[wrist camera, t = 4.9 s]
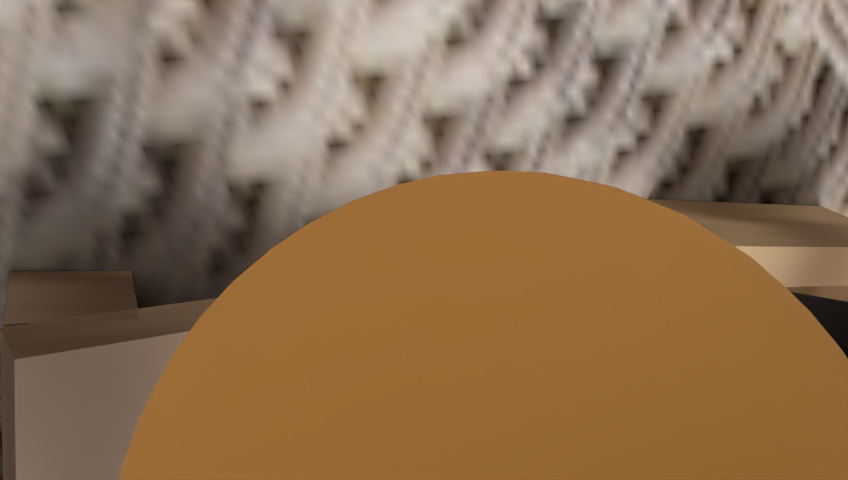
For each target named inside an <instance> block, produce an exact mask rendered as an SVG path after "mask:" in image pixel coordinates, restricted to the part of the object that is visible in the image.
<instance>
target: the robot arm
mask: <svg viewBox="0 0 848 480" xmlns="http://www.w3.org/2000/svg"><path fill="white" fill-rule="evenodd" d="M790 292H791V291H790ZM791 293H792V294H793V295H794V296H795V297H796V298H797V299H798V300H799V301H800V302H801V303H802V304H803V305H804V306H805V307H806V308H807V309H808V310H809V311H810V312H811V313H812V314H813V316H814V317H815V318H816V319H817V320H818V322H819V323H820V324H821V325H822V326H823V328H824V329H825V330H826V331H827V332H828V334H829V335H830V336H831V337H832V338H833V340H834V341H835V342H836V343H837V344H838V346H839V347H840V348H841V349H842V351H843V352H844V354H845V355H846V357H847V358H848V301H842V300H837V299H831V298H825V297H819V296H814V295H808V294H802V293H797V292H791Z"/></svg>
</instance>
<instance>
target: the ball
mask: <svg viewBox="0 0 848 480" xmlns="http://www.w3.org/2000/svg"><path fill="white" fill-rule="evenodd" d="M119 480H848V358H847V357H846V355H845V354H844V352H843V351H842V349H841V348H840V347H839V346H838V344H837V343H836V342H835V341H834V340H833V338H832V337H831V336H830V335H829V334H828V332H827V331H826V330H825V329H824V328H823V326H822V325H821V324H820V323H819V322H818V320H817V319H816V318H815V317H814V316H813V314H812V313H811V312H810V311H809V310H808V309H807V308H806V307H805V306H804V305H803V304H802V303H801V302H800V301H799V300H798V299H797V298H796V297H795V296H794V295H793V294H792V293H791V292H790V291H789V290H788V289H787V288H786V287H785V286H783V285H782V284H781V283H780V282H779V281H778V280H777V279H775V278H774V277H773V276H772V275H771V274H770V273H769V272H768V271H766V270H765V269H764V268H763V267H762V266H761V265H760V264H758V263H757V262H756V261H755V260H754V259H753V258H752V257H750V256H749V255H747V254H746V253H744V252H742V251H741V250H739V249H738V248H736V247H735V246H733V245H731V244H730V243H728V242H727V241H725V240H724V239H722V238H720V237H719V236H717V235H716V234H714V233H713V232H711V231H709V230H708V229H706V228H705V227H703V226H701V225H700V224H698V223H697V222H695V221H693V220H692V219H690V218H689V217H687V216H686V215H683V214H681V213H678V212H676V211H674V210H671V209H669V208H666V207H664V206H661V205H659V204H657V203H654V202H652V201H649V200H647V199H644V198H642V197H639V196H637V195H634V194H632V193H629V192H626V191H624V190H621V189H619V188H616V187H613V186H608V185H603V184H598V183H594V182H589V181H584V180H579V179H574V178H569V177H564V176H559V175H554V174H549V173H541V172H521V171H483V172H470V173H460V174H449V175H438V176H434V177H430V178H425V179H421V180H417V181H412V182H408V183H404V184H399V185H395V186H393V187H390V188H387V189H385V190H382V191H379V192H376V193H374V194H371V195H368V196H365V197H363V198H360V199H357V200H354V201H352V202H350V203H348V204H346V205H344V206H342V207H340V208H338V209H336V210H334V211H332V212H330V213H328V214H326V215H324V216H322V217H320V218H318V219H317V220H315V221H313V222H311V223H309V224H307V225H306V226H304V227H303V228H301V229H300V230H298V231H297V232H295V233H294V234H292V235H291V236H289V237H288V238H286V239H285V240H283V241H282V242H280V243H279V244H277V245H276V246H274V247H273V248H271V249H270V250H269V251H268V252H267V253H266V254H264V255H263V256H262V257H261V258H260V259H258V260H257V261H256V262H255V263H254V264H253V265H251V266H250V267H249V268H248V269H247V270H246V271H244V272H243V273H242V274H241V275H240V276H238V277H237V278H236V279H235V280H234V281H233V282H232V283H231V284H230V285H229V286H228V287H227V288H226V289H225V290H224V292H223V293H222V294H221V295H220V296H219V297H218V298H217V299H216V300H215V301H214V302H213V303H212V304H211V306H210V307H209V308H208V309H207V310H206V311H205V312H204V313H203V314H202V315H201V316H200V318H199V319H198V320H197V322H196V323H195V324H194V326H193V327H192V329H191V330H190V331H189V333H188V334H187V336H186V337H185V338H184V340H183V341H182V342H181V344H180V345H179V347H178V348H177V349H176V351H175V352H174V354H173V355H172V357H171V359H170V360H169V362H168V364H167V366H166V368H165V370H164V371H163V373H162V375H161V377H160V379H159V381H158V383H157V384H156V386H155V388H154V390H153V392H152V394H151V396H150V398H149V400H148V402H147V404H146V406H145V408H144V410H143V412H142V414H141V416H140V418H139V420H138V423H137V426H136V428H135V431H134V434H133V437H132V439H131V442H130V445H129V447H128V450H127V453H126V455H125V458H124V461H123V463H122V467H121V472H120V476H119Z"/></svg>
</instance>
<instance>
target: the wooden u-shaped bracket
mask: <svg viewBox="0 0 848 480" xmlns="http://www.w3.org/2000/svg"><path fill="white" fill-rule="evenodd" d="M648 200H649V201H652V202H654V203H657V204H659V205H661V206H664V207H666V208H669V209H671V210H674V211H676V212H678V213H681V214H683V215H686V216H687V217H689V218H690V219H692V220H693V221H695V222H697V223H698V224H700V225H701V226H703V227H705V228H706V229H708V230H709V231H711V232H713V233H714V234H716V235H717V236H719V237H720V238H722V239H724V240H725V241H727V242H728V243H730V244H731V245H733V246H735V247H736V248H738V249H739V250H741V251H742V252H744V253H746V254H747V255H749V256H750V257H752V258H753V259H754V260H755V261H756V262H757V263H758V264H760V265H761V266H762V267H763V268H764V269H765V270H766V271H768V272H769V273H770V274H771V275H772V276H773V277H774V278H775V279H777V280H778V281H779V282H780V283H781V284H782V285H783V286H785V287H786V288H787V289H788V290H789V291H791V292H797V293H802V294H808V295H814V296H819V297H825V298H831V299H837V300H842V301H848V218H847V217H845V216H843V215H840V214H838V213H836V212H833V211H831V210H829V209H826V208H824V207H822V206H807V205H783V204H758V203H734V202H710V201H686V200H662V199H648Z"/></svg>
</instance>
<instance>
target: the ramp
mask: <svg viewBox="0 0 848 480" xmlns="http://www.w3.org/2000/svg"><path fill="white" fill-rule="evenodd" d="M216 299H217V298H211V299H204V300H197V301H190V302H183V303H175V304H168V305H161V306H154V307H146V308H139V309H138V306H137V300H136V294H135V289H134V283H133V277H132V271H21V272H10V275H9V283H8V290H7V297H6V304H5V312H4V319H3V327H2V328H0V354H1V405H2V455H3V480H119V476H120V472H121V467H122V463H123V461H124V458H125V455H126V453H127V450H128V447H129V445H130V442H131V439H132V437H133V434H134V431H135V428H136V426H137V423H138V420H139V418H140V416H141V414H142V412H143V410H144V408H145V406H146V404H147V402H148V400H149V398H150V396H151V394H152V392H153V390H154V388H155V386H156V384H157V383H158V381H159V379H160V377H161V375H162V373H163V371H164V370H165V368H166V366H167V364H168V362H169V360H170V359H171V357H172V355H173V354H174V352H175V351H176V349H177V348H178V347H179V345H180V344H181V342H182V341H183V340H184V338H185V337H186V336H187V334H188V333H189V331H190V330H191V329H192V327H193V326H194V324H195V323H196V322H197V320H198V319H199V318H200V316H201V315H202V314H203V313H204V312H205V311H206V310H207V309H208V308H209V307H210V306H211V304H212V303H213V302H214V301H215V300H216Z"/></svg>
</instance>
